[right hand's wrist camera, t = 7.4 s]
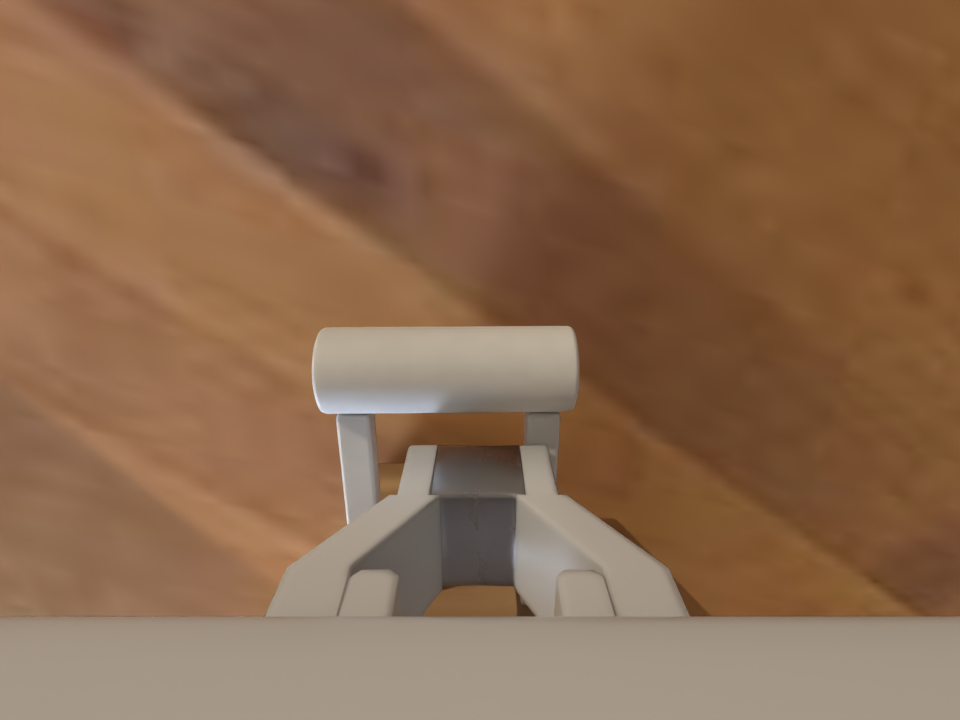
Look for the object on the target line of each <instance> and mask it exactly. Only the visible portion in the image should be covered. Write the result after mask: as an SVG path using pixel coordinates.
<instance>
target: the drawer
mask: <svg viewBox="0 0 960 720" xmlns="http://www.w3.org/2000/svg"><path fill="white" fill-rule="evenodd" d="M579 380H580V362H579V349H578V343H577V338H576V335H575V332H574V330H573V328H572V327H569V326H461V327H326V328H324V329H321V330H320V332H319V333H318V335H317V338H316V341H315V345H314V350H313V358H312V383H313V391H314V396H315V399H316V403H317V405H318V408H319V409H320V411H321V412H323V413H326V414H338V415H337V417H336V423H337V433H338V442H339V451H340V460H341V469H342V479H343V488H344V497H345V506H346V516H347V525H348V524H349V523H351V522H352V521H353V520H355V519H356V518H358V517H359V516H360V515H362V514H363V513H365V512H366V511H367V510H369V509H370V508H372V507H373V506H375V505H376V504H377V503H379V502H380V501H382V500H383V499H384V498H386V497H387V496H389V495H397V494H398V490H399V485H400V481H401V477H402V473H403V469H404V464H405V463H378V452H377V440H376V427H375V414H374V413H482V412H524V438H523V446H524V445H546V446H548V449H549V454H550V458H551V463H552V467H553V471H554V476H555V480H556V482H557V466H558V449H559V432H560V414H559V412H569V411H571V410H573V409H574V407H575V405H576V402H577V398H578V392H579ZM422 616H535V615H534V614H533V613H532V611H531V610H530V609H529V607H528V606H527V605H526V604H525V602H524V601H523V600H522V598H521V597H520V596H519V594H518V593H517V592H516V591H515V589H514V586H483V585H473V586H442V590H441V592H440V593H439V594H438V596H437V597H436V598H435V599H434V601H433V602H432V603H431V604H430V606H429V607H428V608H427V610H426V611H425V612H424V613H423V615H422Z"/></svg>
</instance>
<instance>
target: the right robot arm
mask: <svg viewBox="0 0 960 720" xmlns="http://www.w3.org/2000/svg"><path fill="white" fill-rule="evenodd" d="M473 585H483V586H514V589H515V591H516V592H517V593H518V594H519V596H520V597H521V598H522V600H523V601H524V602H525V604H526V605H527V606H528V607H529V609H530V610H531V611H532V613H533V614H534V615H535V616H422V615H423V613H424V612H425V611H426V610H427V608H428V607H429V606H430V604H431V603H432V602H433V601H434V599H435V598H436V597H437V596H438V594H439V593H440V592H441V590H442V586H473ZM0 720H960V617H954V616H690V615H689V613H688V611H687V608H686V606H685V604H684V602H683V599H682V597H681V595H680V593H679V590H678V588H677V586H676V584H675V581H674V579H673V577H672V575H671V572H670V570H669V568H668V567H666V566H665V565H664V564H662V563H661V562H659V561H658V560H657V559H655V558H654V557H653V556H651V555H650V554H648V553H647V552H646V551H644V550H643V549H641V548H640V547H639V546H637V545H636V544H634V543H633V542H632V541H630V540H629V539H627V538H626V537H625V536H623V535H622V534H620V533H619V532H618V531H616V530H615V529H614V528H612V527H611V526H609V525H608V524H607V523H605V522H604V521H602V520H601V519H600V518H598V517H597V516H595V515H594V514H593V513H591V512H590V511H588V510H587V509H586V508H584V507H583V506H581V505H580V504H579V503H577V502H576V501H575V500H573V499H572V498H570V497H569V496H568V495H559V493H558V489H557V484H556V480H555V476H554V471H553V467H552V463H551V458H550V454H549V449H548V446H546V445H524V446H519V445H515V446H450V445H438V447H437V445H411V446H410V447H409V448H408V452H407V456H406V460H405V464H404V469H403V473H402V477H401V481H400V485H399V490H398V494H397V495H389V496H387V497H386V498H384V499H383V500H382V501H380V502H379V503H377V504H376V505H375V506H373V507H372V508H370V509H369V510H367V511H366V512H365V513H363V514H362V515H360V516H359V517H358V518H356V519H355V520H353V521H352V522H351V523H349V524H348V525H346V526H345V527H343V528H342V529H341V530H339V531H338V532H336V533H335V534H334V535H332V536H331V537H329V538H328V539H327V540H325V541H324V542H322V543H321V544H319V545H318V546H317V547H315V548H314V549H312V550H311V551H310V552H308V553H307V554H305V555H304V556H302V557H301V558H300V559H298V560H297V561H295V562H294V563H293V564H291V565H290V566H288V567H287V569H286V571H285V573H284V575H283V578H282V580H281V582H280V584H279V586H278V589H277V591H276V593H275V595H274V597H273V599H272V602H271V604H270V606H269V608H268V610H267V612H266V615H265V616H0Z"/></svg>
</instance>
